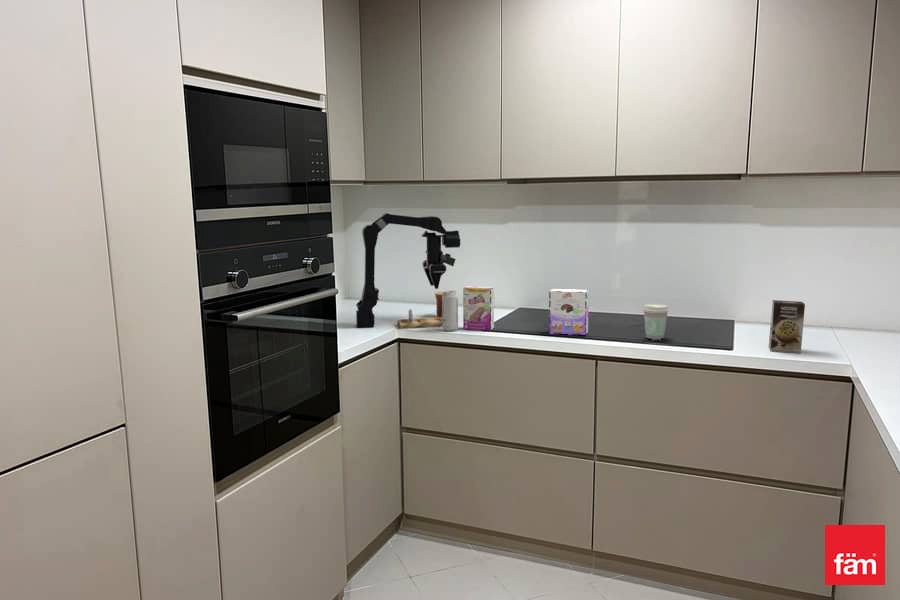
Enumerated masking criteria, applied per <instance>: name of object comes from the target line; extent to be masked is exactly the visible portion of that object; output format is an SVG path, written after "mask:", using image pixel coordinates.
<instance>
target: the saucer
mask: <svg viewBox="0 0 900 600" xmlns="http://www.w3.org/2000/svg"><path fill="white" fill-rule="evenodd" d="M408 319H409V323H412V321H413V319H414V317H413V310H412V309H411V308H410V309H408Z"/></svg>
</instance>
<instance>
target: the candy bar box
mask: <svg viewBox="0 0 900 600" xmlns="http://www.w3.org/2000/svg"><path fill="white" fill-rule="evenodd" d="M462 298H463V299H462V300H463V308H462V311H463V314H462V317H463V320H462V321H463V324H462V325H463V328H462V329H463V330H466V331H467V330H469V331H470V330H471V331H483V332H484V331H485V332H491V330H492V329H493V328H494V329H495V287H493V286H477V285H475V286H474V285H466V286H464V287H463V297H462ZM494 329H493V330H494ZM493 330H492V331H493Z"/></svg>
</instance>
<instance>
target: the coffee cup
mask: <svg viewBox="0 0 900 600" xmlns="http://www.w3.org/2000/svg"><path fill="white" fill-rule="evenodd" d="M642 311H643V313H644V314H643V317H644V330H645V331H644V332H645V338H646V337H647V338H653V339H661V338H663V339H664V336H665V330H666V324H667V319H668V313H669V308H668V305H666V304H661V303H647V304H645V305H644V308H643V310H642Z"/></svg>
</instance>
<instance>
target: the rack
mask: <svg viewBox="0 0 900 600" xmlns="http://www.w3.org/2000/svg"><path fill="white" fill-rule="evenodd" d="M396 321H397V322H396V323H397V324H398V325H397V326H398V327H399V329H401V330H402V329H405V330H406V329H407V330H408V329H423V328H424V329H425V328H442V317H421V318H420V317H419V318H413V321H412V323H409V318H399V319H397V320H396Z"/></svg>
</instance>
